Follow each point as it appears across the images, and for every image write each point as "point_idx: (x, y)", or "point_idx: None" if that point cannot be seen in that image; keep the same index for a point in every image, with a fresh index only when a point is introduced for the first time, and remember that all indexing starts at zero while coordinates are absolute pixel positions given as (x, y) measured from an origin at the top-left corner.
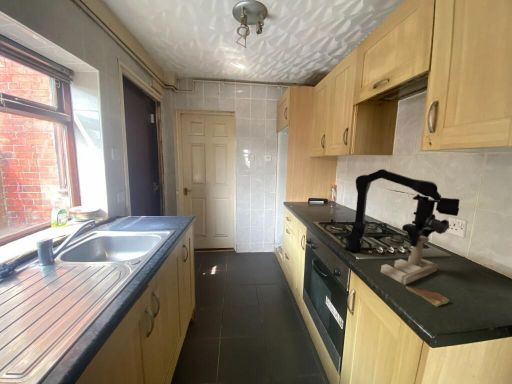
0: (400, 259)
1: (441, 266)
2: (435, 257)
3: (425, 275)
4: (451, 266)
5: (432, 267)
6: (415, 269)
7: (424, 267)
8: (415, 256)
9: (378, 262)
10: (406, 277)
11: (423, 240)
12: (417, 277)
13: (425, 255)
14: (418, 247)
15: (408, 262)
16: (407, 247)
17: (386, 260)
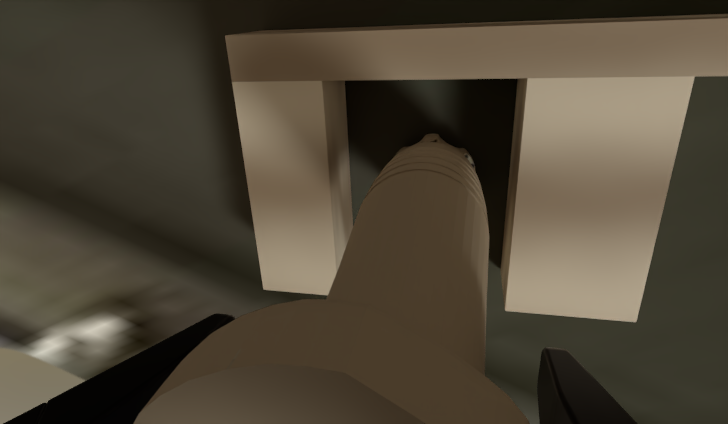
0: (525, 307)
1: (115, 61)
2: (10, 181)
3: (503, 22)
4: (16, 15)
5: (352, 31)
6: (668, 92)
7: (477, 69)
8: (485, 227)
9: (651, 389)
10: None
11: (476, 410)
12: (721, 15)
13: (67, 241)
14: (475, 307)
15: (521, 230)
16: (90, 373)
17: (525, 368)
